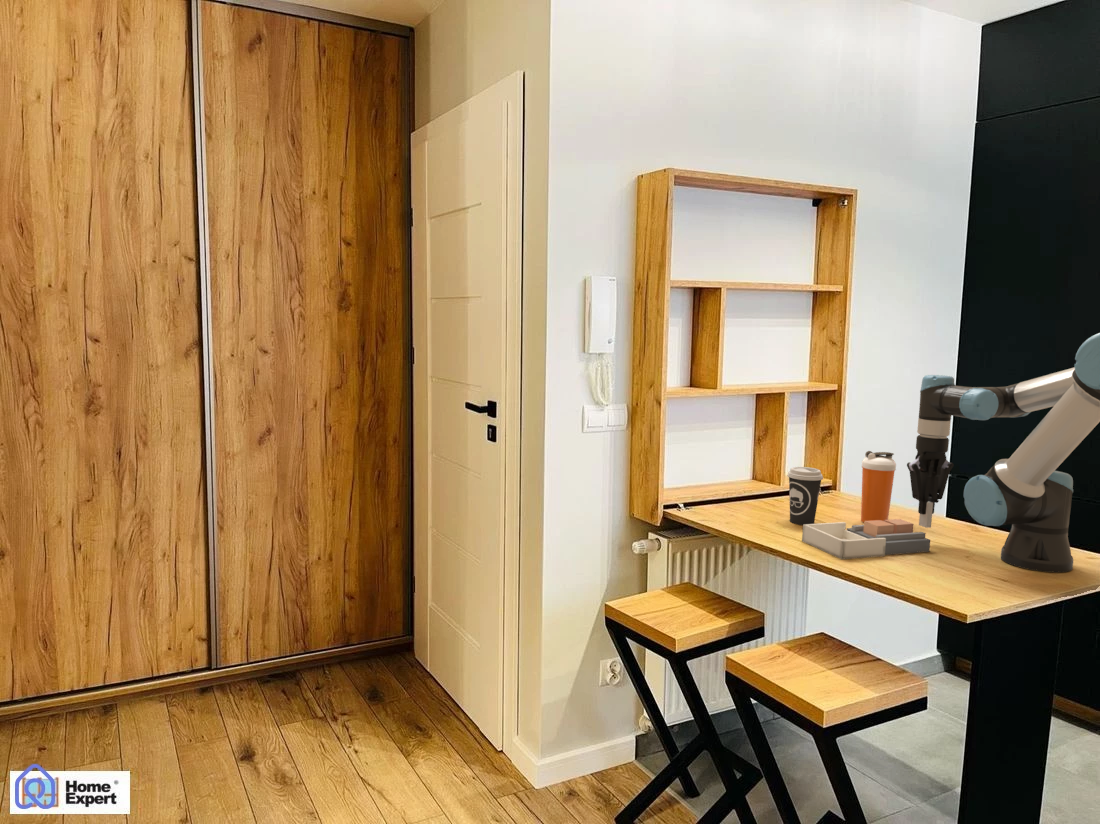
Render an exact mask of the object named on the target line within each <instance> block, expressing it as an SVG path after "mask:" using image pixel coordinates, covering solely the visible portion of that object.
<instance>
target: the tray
mask: <svg viewBox="0 0 1100 824" xmlns="http://www.w3.org/2000/svg"><path fill="white" fill-rule="evenodd" d="M801 542H803V543H804V544H807V545H809V546H812V547H813V548H815V549H818V550H821V551H822V552H825V553H827V554H828V555H831V556H833V557H836V558H838V559H840V560H851V559H865V558H878V557H879V558H880V557H885V556H886V555H885V545H886V538H872V539H867V538H865V537H862V536H860V535H857V534H855V533H853V532H850V531H848V530H847V522H845V521H839V522H823V523H821V522H820V523H814V524H803V525H802V536H801Z"/></svg>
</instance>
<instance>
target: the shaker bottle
mask: <svg viewBox="0 0 1100 824" xmlns="http://www.w3.org/2000/svg"><path fill="white" fill-rule="evenodd" d="M894 455H895V453H893V452H889V451H888V452H887V451H878V452H873V451H872V450H868V451H866V452H865V456H864V457H863V460H861V468H862V469H861V470H862V471H861V474H862V475H861V476H862V477H861V502H860V503H861V508H860V509H861V510H860V522H861V523H863V524H864V521H873V520H882V521H884V520H889V516H890V508H891V499H892V492H893V486H894V485H893V484H894V478H895V477H894V476H895V471H897V469H896V467H897V463H896V461H895V460H894V459H893V456H894Z"/></svg>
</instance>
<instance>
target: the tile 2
mask: <svg viewBox="0 0 1100 824" xmlns="http://www.w3.org/2000/svg"><path fill="white" fill-rule="evenodd" d="M884 522H887V523H890V524H893V525H894V531H893V534H899V533H914V523H912V522H910V521H907V520H903V519H901V518H892V519H888V520H884Z"/></svg>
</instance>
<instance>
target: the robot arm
mask: <svg viewBox="0 0 1100 824" xmlns="http://www.w3.org/2000/svg"><path fill="white" fill-rule="evenodd" d="M1074 360H1075V363H1074V367H1071V368H1068V369H1064V370H1060V371H1057V372H1056V371H1055V372H1053V373H1052V372H1051V373H1049V374H1046V375H1042V376H1038V377H1034V378H1031V379H1028V380H1024V381H1020V382H1018V383H1014V384H1010V385H1008V386H977V387H976V386H973V387H972V386H963V385H956V384H955V378H954V376H950V375H943V374H942V375H939V374H927V375H924V376H923V377H922V380H921V387H920V390H919V393H920V395H919V411H918V421H917V431H916V432H917V433H918V435H917V436H916V441H915V449H916V451H917V452H916V455H915V459H914V460H913V461H912V462H907V463H906V467H907V469H908V471H909V477H910V487H911V495H912V498H913V499H915V500H916V501H918V511H917V512H918V514H919V517H918V518H919V519H918V526H921V527H923V528H927V529H928V528H932V520H933V515H934V513H935V506H936V504H938V503H939V502H940V500H942V499H943V496H944V494H945V489H946V487H947V483H948V479H949V476H950V472H951V471H952V469H953V468H954V465H955V464H954V463H953V462H949V460H947V455H946V453H948V450H949V444H950V439H949V438H948V437H949V436H950V432H951V422H952V421H951V420H952V416H954V417H960V418H964V419H968V420H972V421H975V420H976V421H977V420H978V421H988V420H989V419H992V418H1010V419H1011V418H1013V419H1014V418H1015V419H1016V418H1021V417H1027V416H1028V415H1029V414H1031V413H1032V412H1035V411H1040V410H1044V409H1045V410H1046V409H1048V408H1051V409H1050V410H1049V411H1048V412H1047V414H1046V415H1044V417H1043V418H1042V419H1041V420H1040V422H1039V423H1038V424H1037V425H1036V427H1035V428H1033V430H1032V431H1031V432H1030V433H1029V434H1028V436H1026V438H1025V439H1024V440H1023V442H1022V443H1021V444H1020V445H1019V446H1018V448H1016V450H1015V451H1014V452H1013V453H1012V454H1011V456H1010V457H1009V458H1001V459H999V460H997V461H996V462H995V463H994V464H993V466H992V467H990V469H988V471H987V473H985V474H977V475H975V476H972V477H971V478H969V480H968V481H967V482H966V483H965V486H964V487H963V488H964V489H963V498H964V502H963V503H964V507H965V508H966V510H967V512H968V514H969V516H971V518H972V519H973V520H974V521H975V522H976V523H978V524H981V525H983V526H991V527H992V526H993V527H1000V526H1007V525H1011V528H1010V531H1009V533H1008V535H1007V537H1006V539H1005V541H1004V545H1002V547H1001V549H1000V559H1001V561H1003V562H1004V563H1006V564H1009V565H1011V566H1015V567H1019V568H1021V569H1025V570H1026V569H1027V570H1031V571H1038V572H1045V573H1047V572H1048V573H1068V572H1071V571H1072V570H1073V568H1074V557H1073V555H1072V551H1071V545H1070V542H1069V541H1070V540H1069V537H1068V536H1069V525H1070V515H1071V508H1072V498H1073V493H1074V489H1073V488H1074V487H1073V486H1074V480H1073V477H1072V475H1071V474H1069V473H1067V472H1063V471H1059V470H1057V469H1058V468H1059V466H1060V465H1061V464H1062V463H1064V461H1065V460H1066V459H1067V458H1068V457H1069V456H1070V455H1071V454H1072V452H1073V451H1074V450H1076V448H1077V447H1078V446H1079V445H1080V444H1081V443H1082V441H1084V439H1085V438H1086V437H1087V436H1089V434H1090V433H1091V432H1092V431H1093V430H1094V428H1096V426H1097V425H1098V424H1099V423H1100V332H1098V333H1096V334H1094V335H1091V336H1090V337H1088V338H1087V339H1086V340H1085V341H1083V342H1082V344H1081V345H1080V346H1079V348H1078V349H1077V352H1076V353H1075V357H1074Z"/></svg>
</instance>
